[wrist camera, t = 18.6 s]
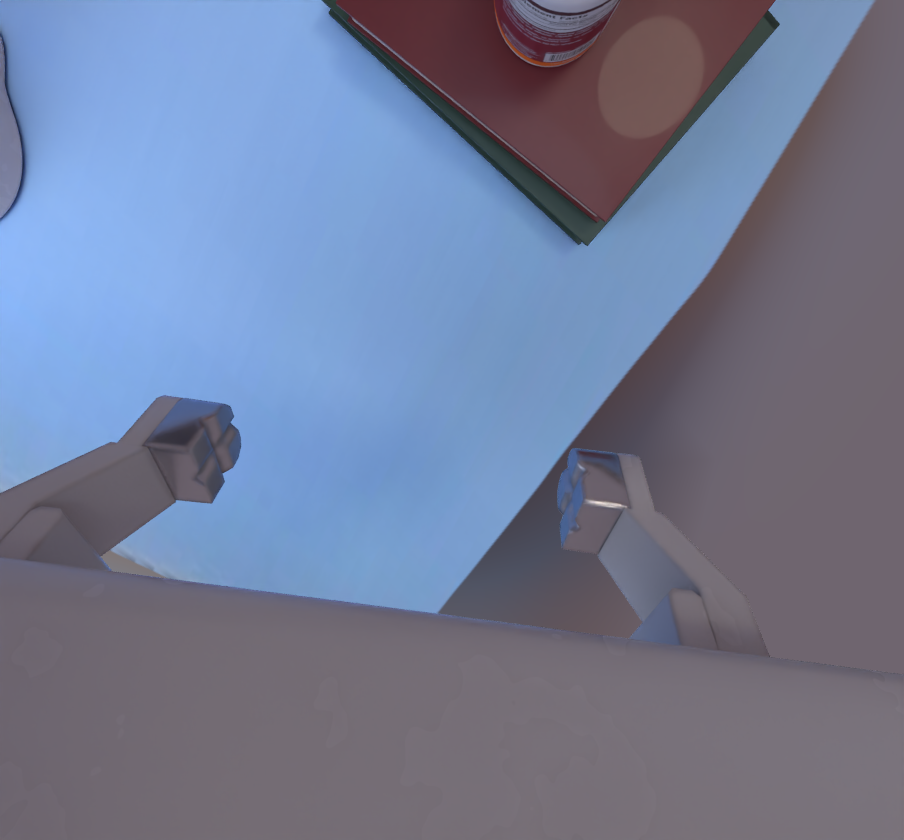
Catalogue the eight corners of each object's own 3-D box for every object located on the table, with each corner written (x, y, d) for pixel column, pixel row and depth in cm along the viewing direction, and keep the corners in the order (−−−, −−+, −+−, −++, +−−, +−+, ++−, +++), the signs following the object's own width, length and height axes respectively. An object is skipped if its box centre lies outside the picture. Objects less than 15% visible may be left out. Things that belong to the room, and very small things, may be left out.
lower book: (329, 14, 30) (312, -9, 27) (480, -265, 25) (480, -333, 22) (578, 244, 34) (587, 245, 31) (750, 44, 29) (780, 24, 26)
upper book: (348, 22, 27) (335, 2, 25) (478, -254, 23) (477, -310, 20) (596, 222, 30) (605, 222, 28) (753, 15, 26) (780, -7, 24)
